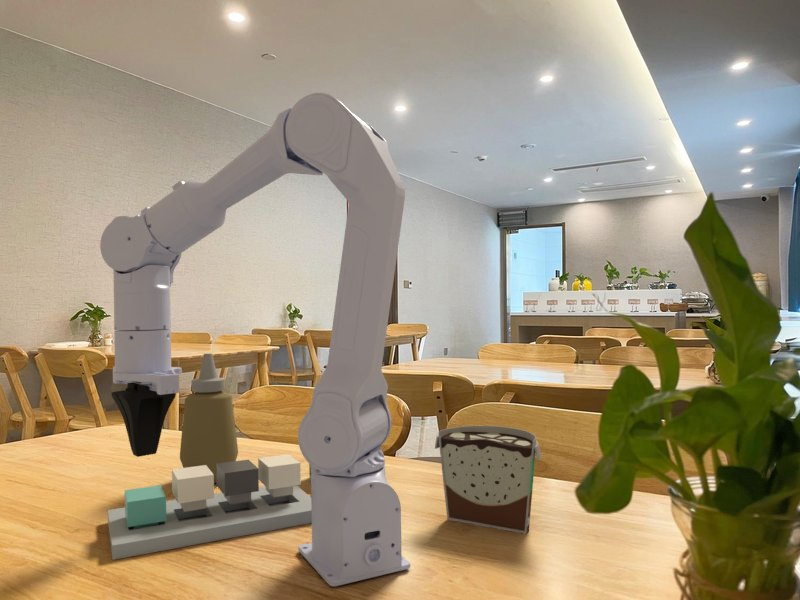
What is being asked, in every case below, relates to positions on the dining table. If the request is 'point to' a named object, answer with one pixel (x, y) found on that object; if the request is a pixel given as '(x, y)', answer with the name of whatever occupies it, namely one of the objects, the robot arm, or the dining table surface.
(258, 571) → the dining table surface
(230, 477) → the dark gray key
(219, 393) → the squeeze bottle
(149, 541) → the selector panel
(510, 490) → the food container
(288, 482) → the near ivory key
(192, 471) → the middle ivory key
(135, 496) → the teal key
